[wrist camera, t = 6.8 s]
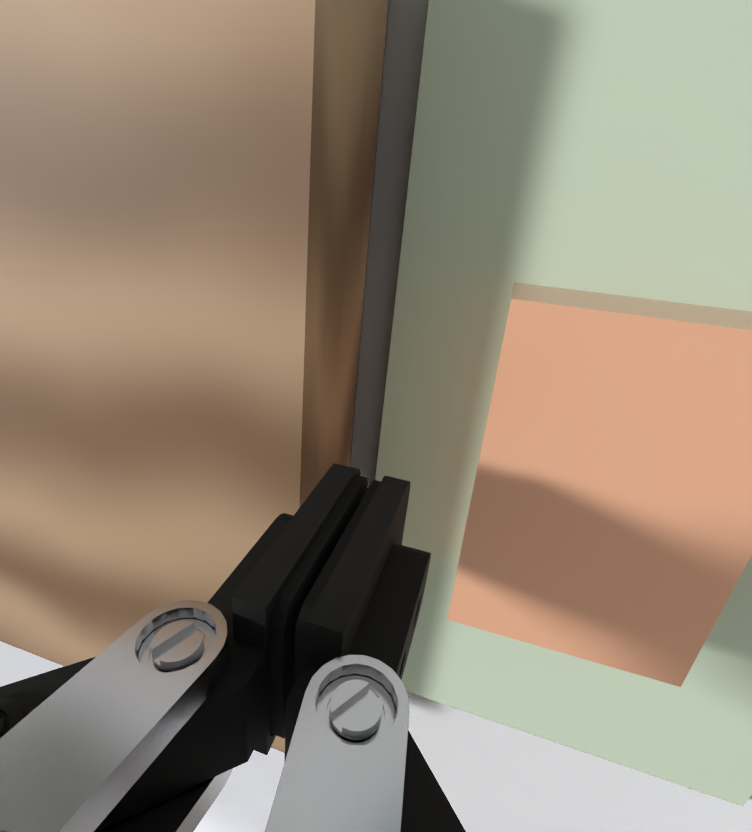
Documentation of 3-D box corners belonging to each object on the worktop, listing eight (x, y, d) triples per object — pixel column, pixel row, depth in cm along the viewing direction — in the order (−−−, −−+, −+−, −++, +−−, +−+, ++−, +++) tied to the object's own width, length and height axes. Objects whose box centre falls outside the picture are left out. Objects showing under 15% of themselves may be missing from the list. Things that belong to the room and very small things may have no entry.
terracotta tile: (447, 619, 13) (457, 563, 15) (681, 687, 12) (657, 615, 14) (511, 299, 10) (514, 282, 12) (864, 345, 8) (795, 316, 10)
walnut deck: (333, 657, 20) (291, 755, 16) (61, 565, 23) (-25, 631, 19) (391, -33, 10) (319, -161, 7) (-87, -32, 13) (-309, -118, 10)
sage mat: (738, 793, 16) (742, 806, 16) (356, 665, 19) (353, 673, 19) (1366, -37, 7) (1411, -50, 7) (436, -33, 10) (433, -43, 10)
